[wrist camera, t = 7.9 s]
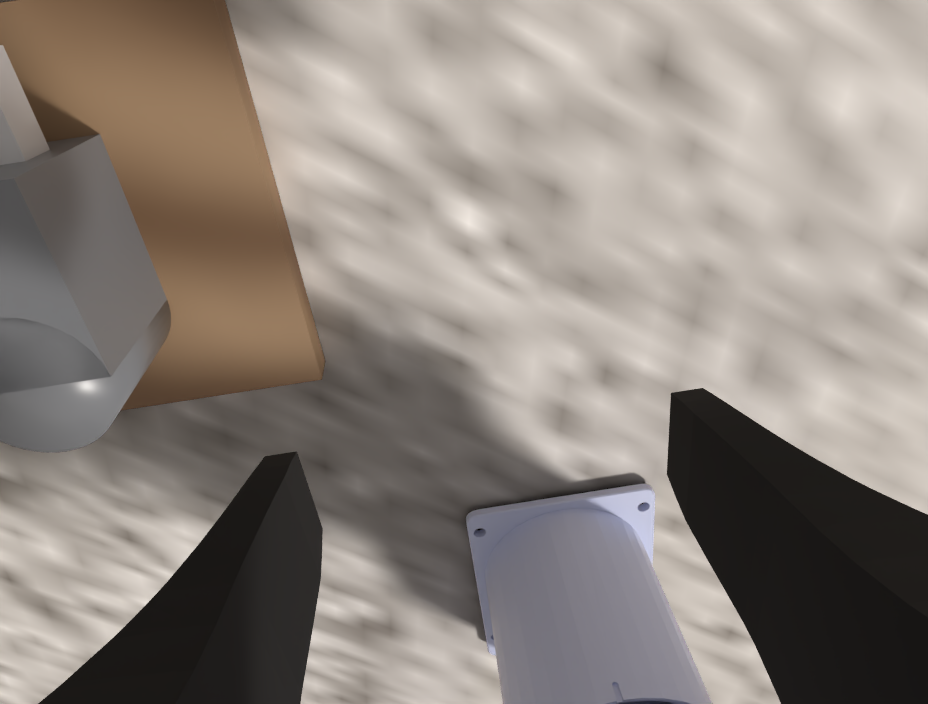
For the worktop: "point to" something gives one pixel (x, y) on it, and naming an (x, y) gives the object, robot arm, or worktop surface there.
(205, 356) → the board
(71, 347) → the plug
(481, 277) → the worktop surface
